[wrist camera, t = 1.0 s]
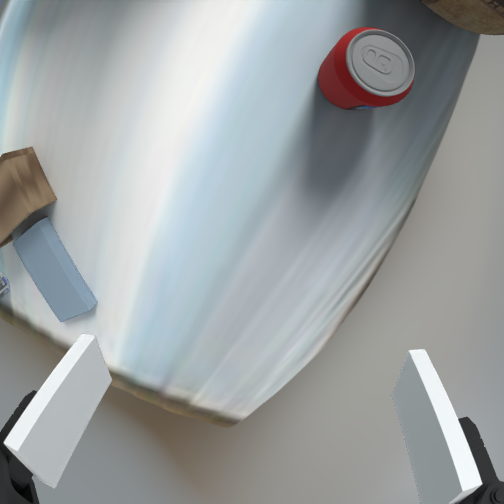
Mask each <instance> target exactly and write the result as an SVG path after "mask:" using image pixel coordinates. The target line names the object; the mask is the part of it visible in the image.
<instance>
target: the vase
mask: <svg viewBox="0 0 504 504" xmlns="http://www.w3.org/2000/svg"><path fill="white" fill-rule="evenodd" d="M420 1H421V2H422V3H424V4H425V5H426V6H427V7H429V8H430V9H431V10H432V11H434V12H435V13H436V14H438V15H439V16H441V17H442V18H443V19H445V20H447V21H448V22H450V23H452V24H454V25H456V26H457V27H459V28H462V29H464V30H467V31H470V32H473V33H478V34H486V35H504V0H420Z"/></svg>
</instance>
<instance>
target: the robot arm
mask: <svg viewBox="0 0 504 504" xmlns="http://www.w3.org/2000/svg"><path fill="white" fill-rule="evenodd" d="M111 381H112V378H111V376H110V373H109V371H108V368H107V366H106V363H105V361H104V358H103V355H102V353H101V350H100V347H99V344H98V341H97V339H96V336H93V335H88V334H81V336H80V337H79V338H78V339H77V341H76V342H75V343H74V344H73V346H72V347H71V348H70V349H69V351H68V352H67V353H66V355H65V356H64V357H63V359H62V360H61V361H60V363H59V364H58V365H57V366H56V368H55V369H54V370H53V372H52V373H51V375H50V376H49V377H48V378H47V380H46V381H45V383H44V384H43V385H42V387H41V388H40V390H39V391H38V392H37V391H34V390H33V391H32V392H31V393H29V394H28V395H27V396H25V397H24V399H23V400H22V401H21V403H20V404H19V407H17V408H16V410H15V411H14V414H12V416H11V417H10V418H9V420H8V422H7V423H6V424H5V426H4V427H3V429H2V430H1V432H0V504H39V501H38V497H37V493H36V489H35V485H34V482H33V480H32V476H33V475H34V476H35V477H37V478H38V479H39V480H40V481H41V482H43V483H45V484H47V485H49V486H51V487H53V488H55V487H56V485H57V483H58V481H59V479H60V477H61V475H62V473H63V471H64V469H65V467H66V465H67V463H68V461H69V459H70V457H71V455H72V453H73V451H74V449H75V447H76V445H77V443H78V441H79V439H80V437H81V436H82V434H83V432H84V430H85V428H86V426H87V424H88V422H89V421H90V419H91V417H92V415H93V413H94V411H95V409H96V408H97V406H98V404H99V402H100V400H101V399H102V397H103V395H104V393H105V391H106V389H107V388H108V386H109V384H110V383H111ZM391 396H392V399H393V402H394V405H395V409H396V412H397V415H398V419H399V422H400V425H401V429H402V433H403V436H404V440H405V443H406V447H407V450H408V455H409V458H410V462H411V466H412V470H413V474H414V479H415V483H416V487H417V491H418V496H419V501H420V504H504V482H502V481H499V480H498V478H497V476H496V473H495V471H494V468H493V466H492V463H491V460H490V458H489V455H488V453H487V450H486V448H485V447H484V443H483V441H482V439H481V438H480V434H479V431H478V429H477V427H476V425H475V424H474V423H473V422H472V421H471V420H470V419H469V418H468V417H464V418H460V419H458V418H457V416H456V414H455V412H454V409H453V407H452V405H451V403H450V400H449V398H448V396H447V394H446V392H445V390H444V388H443V385H442V383H441V381H440V379H439V377H438V375H437V373H436V371H435V369H434V367H433V365H432V363H431V361H430V359H429V357H428V355H427V353H426V351H425V350H424V349H419V350H409V351H408V354H407V357H406V359H405V362H404V365H403V367H402V370H401V373H400V375H399V378H398V380H397V382H396V385H395V387H394V390H393V392H392V394H391Z"/></svg>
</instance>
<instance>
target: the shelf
mask: <svg viewBox="0 0 504 504" xmlns="http://www.w3.org/2000/svg"><path fill="white" fill-rule="evenodd" d="M55 200H57V199H56V197H55V195H54V193H53V191H52V189H51V187H50V185H49V183H48V181H47V179H46V177H45V174H44V172H43V170H42V168H41V166H40V164H39V161H38V159H37V157H36V155H35V152H34V150H33V148H32V147H29V148H25V149H20V150H16V151H12V152H8V153H5V154H2V155H1V157H0V248H1V247H3V246H4V245H6V244H8V243H9V242H11V241H12V240H13V239H12V237H11V235H10V234H11V233H12V232H13V231H14V229H15V228H16V227H17V226H19V225H20V224H21V223H22V222H23V221H24V220H25V219H26V218H27V217H28V216H29V215H30V214H31V213H33V212H35V211H37V210H39V209H41V208H43V207H45V206H47V205H49V204H51V203H53V202H54V201H55Z"/></svg>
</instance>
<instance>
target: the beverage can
mask: <svg viewBox="0 0 504 504" xmlns="http://www.w3.org/2000/svg"><path fill="white" fill-rule="evenodd" d="M414 74H415V65H414V60H413V57H412V55H411V52H410V51H409V49H408V48H407V46H406V45H405V44H404V43H403V42H402V41H401V40H400V39H399V38H398V37H396V36H395V35H393V34H391V33H389V32H386V31H383V30H380V29H377V28H371V27H362V28H357V29H354V30H351V31H349V32H348V33H346V34H345V35H344V36H343V37H342V38H341V39H340V40H339V41H338V43H337V44H336V45H335V46H334V47H333V49H332V50H331V51H330V53H329V54H328V55H327V57H326V58H325V60H324V61H323V63H322V64H321V66H320V69H319V73H318V82H319V86H320V89H321V91H322V93H323V94H324V96H325V97H326V98H327V99H328V100H329V101H330V102H331V103H333V104H334V105H336V106H338V107H340V108H343V109H347V110H359V109H367V108H375V107H381V106H388V105H392V104H395V103H397V102H399V101H400V100H402V99H403V98H404V97H405V96H406V95H407V94H408V93H409V91H410V89H411V87H412V84H413V81H414Z"/></svg>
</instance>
